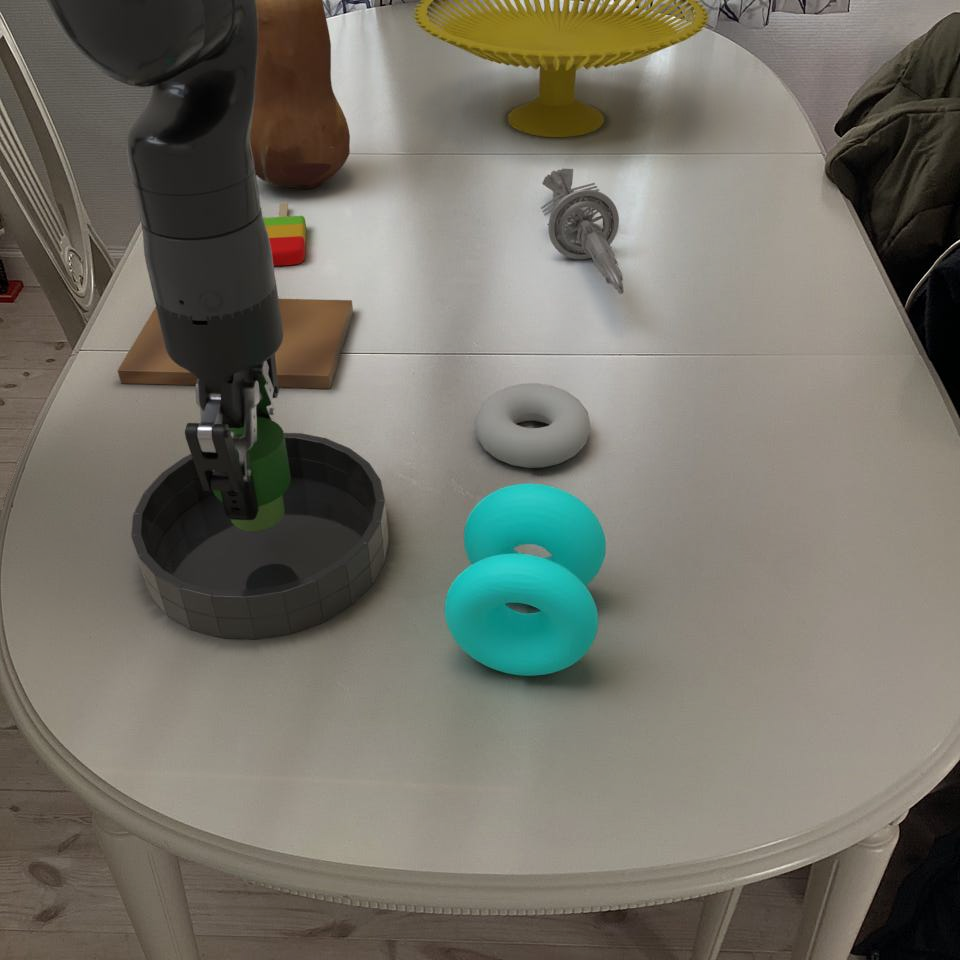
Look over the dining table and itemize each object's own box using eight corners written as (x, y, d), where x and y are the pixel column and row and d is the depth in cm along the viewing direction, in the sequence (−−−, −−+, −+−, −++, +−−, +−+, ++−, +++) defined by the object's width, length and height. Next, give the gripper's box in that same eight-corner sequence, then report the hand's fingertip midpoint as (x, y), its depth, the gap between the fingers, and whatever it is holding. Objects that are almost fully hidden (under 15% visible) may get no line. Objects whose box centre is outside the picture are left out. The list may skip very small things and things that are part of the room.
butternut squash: (323, 155, 138) (300, -47, 122) (371, 188, 130) (354, -25, 114) (228, 179, 132) (191, -30, 116) (272, 216, 124) (239, -5, 108)
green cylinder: (210, 537, 74) (193, 462, 69) (229, 488, 78) (214, 414, 73) (287, 540, 73) (274, 465, 69) (302, 490, 78) (291, 416, 73)
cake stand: (544, 202, 126) (548, 79, 116) (362, 113, 150) (354, 4, 141) (755, 125, 145) (773, 13, 136) (564, 57, 170) (568, -42, 160)
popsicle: (255, 268, 113) (253, 253, 112) (262, 210, 125) (260, 196, 124) (305, 265, 114) (303, 250, 113) (307, 208, 125) (305, 193, 124)
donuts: (602, 586, 75) (612, 482, 68) (591, 693, 67) (601, 587, 61) (468, 571, 76) (466, 468, 70) (443, 674, 69) (438, 569, 62)
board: (120, 383, 96) (117, 370, 95) (164, 308, 107) (161, 295, 106) (330, 388, 95) (328, 375, 94) (353, 312, 106) (352, 299, 105)
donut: (564, 489, 84) (605, 422, 90) (566, 457, 81) (608, 390, 88) (455, 458, 87) (503, 395, 94) (454, 427, 85) (502, 364, 92)
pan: (110, 636, 72) (94, 592, 69) (184, 472, 86) (173, 429, 83) (370, 646, 71) (364, 601, 68) (401, 478, 85) (398, 435, 82)
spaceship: (569, 270, 96) (647, 234, 95) (514, 162, 125) (573, 134, 124) (597, 338, 100) (672, 305, 99) (537, 219, 129) (595, 192, 128)
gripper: (187, 228, 69) (227, 427, 80) (116, 340, 58) (173, 554, 69) (296, 231, 69) (321, 431, 79) (246, 345, 58) (283, 559, 68)
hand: (252, 487), depth 74 cm, fingers closed on green cylinder, 5 cm apart
